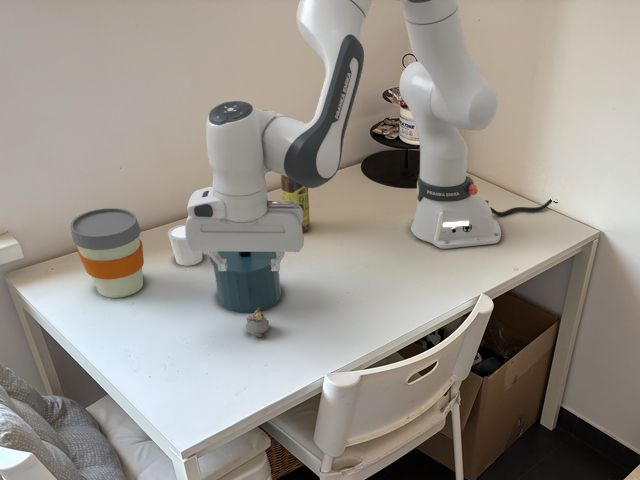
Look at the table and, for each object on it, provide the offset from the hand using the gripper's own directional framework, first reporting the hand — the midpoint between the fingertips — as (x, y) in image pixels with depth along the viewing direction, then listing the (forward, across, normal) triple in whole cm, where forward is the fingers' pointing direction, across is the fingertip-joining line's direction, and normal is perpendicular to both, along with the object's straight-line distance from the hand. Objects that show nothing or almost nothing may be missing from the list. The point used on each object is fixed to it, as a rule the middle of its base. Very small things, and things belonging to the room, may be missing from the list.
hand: (249, 269), depth 130 cm
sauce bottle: (+14, -5, -43) cm, 46 cm away
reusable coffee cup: (+15, +30, -17) cm, 37 cm away
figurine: (+14, 0, 0) cm, 15 cm away
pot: (+14, +3, -13) cm, 20 cm away
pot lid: (+5, +3, -13) cm, 14 cm away
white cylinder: (+14, +18, -28) cm, 36 cm away
